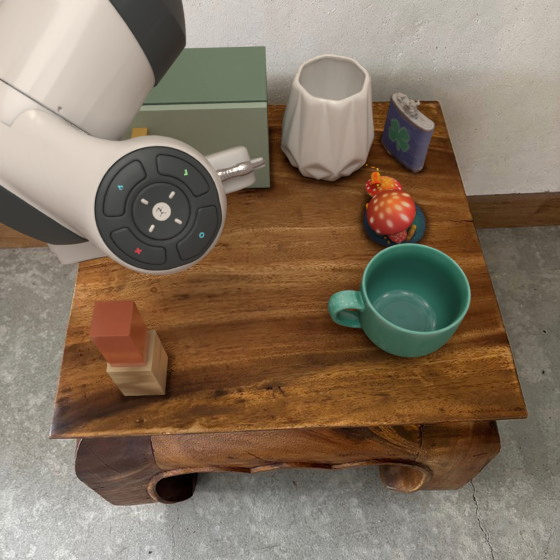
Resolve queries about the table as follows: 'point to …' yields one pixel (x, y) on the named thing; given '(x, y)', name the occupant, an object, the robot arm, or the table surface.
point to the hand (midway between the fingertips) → (147, 190)
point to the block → (120, 333)
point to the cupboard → (214, 78)
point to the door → (210, 129)
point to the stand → (143, 372)
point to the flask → (407, 132)
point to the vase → (328, 117)
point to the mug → (406, 300)
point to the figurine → (391, 213)
